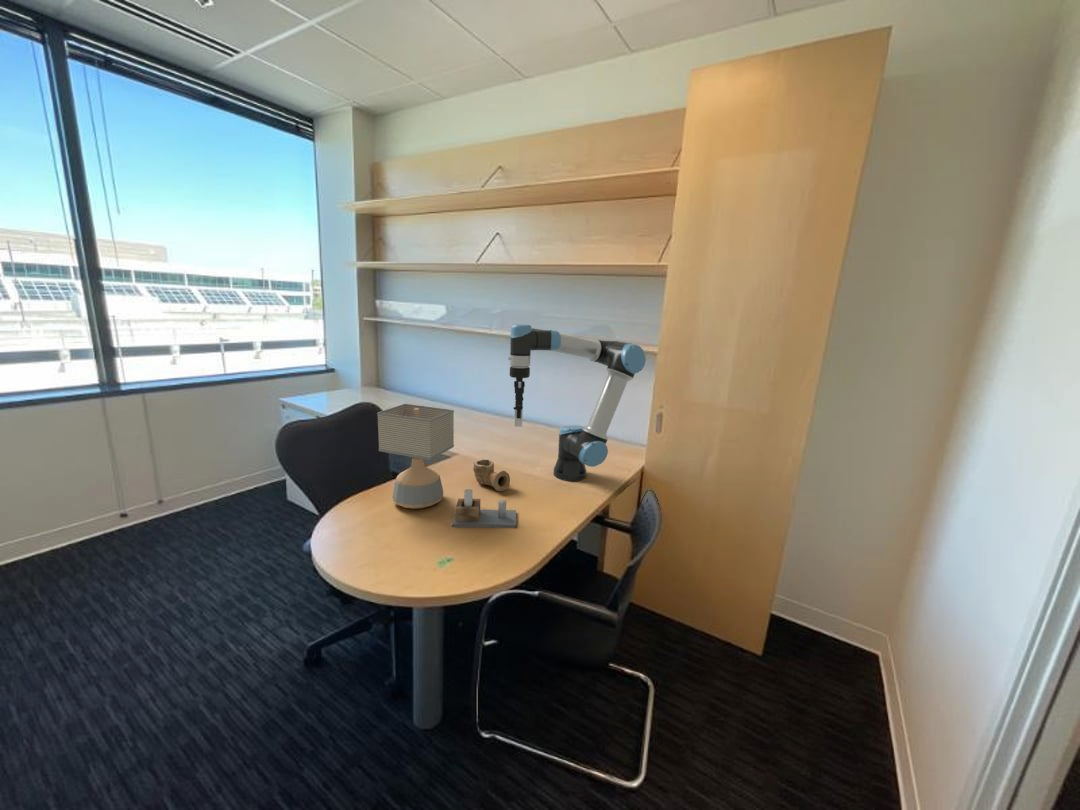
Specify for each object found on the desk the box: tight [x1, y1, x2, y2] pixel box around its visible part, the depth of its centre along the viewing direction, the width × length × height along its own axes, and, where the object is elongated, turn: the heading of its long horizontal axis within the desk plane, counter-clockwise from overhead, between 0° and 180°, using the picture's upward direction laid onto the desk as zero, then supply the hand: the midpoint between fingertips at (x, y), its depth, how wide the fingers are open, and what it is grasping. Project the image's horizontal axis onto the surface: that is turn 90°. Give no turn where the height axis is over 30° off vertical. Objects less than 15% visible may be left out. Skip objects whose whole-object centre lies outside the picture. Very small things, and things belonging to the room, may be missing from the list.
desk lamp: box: [376, 403, 455, 510], centre depth 162 cm, size 22×19×37 cm
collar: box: [454, 498, 481, 522], centre depth 153 cm, size 8×8×5 cm
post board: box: [451, 488, 517, 528], centre depth 153 cm, size 22×11×11 cm, turn 93°
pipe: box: [472, 459, 511, 492], centre depth 181 cm, size 9×16×10 cm, turn 53°
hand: (518, 421), depth 165 cm, fingers open, 13 cm apart
